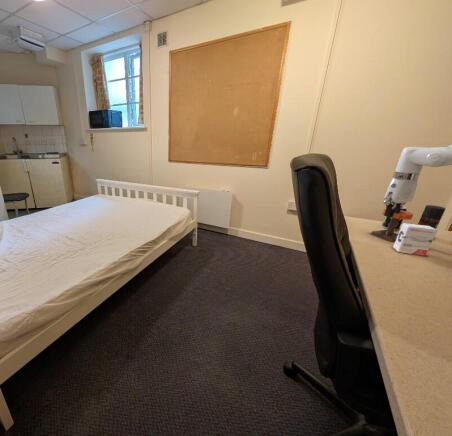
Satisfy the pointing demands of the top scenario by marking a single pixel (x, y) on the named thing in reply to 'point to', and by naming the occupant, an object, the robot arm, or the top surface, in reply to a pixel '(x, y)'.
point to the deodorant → (431, 216)
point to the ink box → (414, 239)
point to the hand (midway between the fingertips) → (390, 215)
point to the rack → (388, 231)
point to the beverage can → (388, 219)
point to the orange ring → (401, 215)
